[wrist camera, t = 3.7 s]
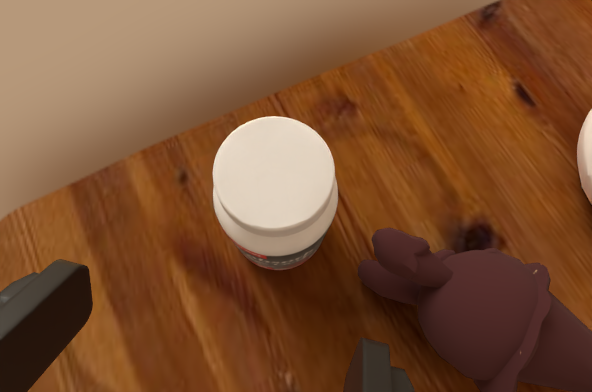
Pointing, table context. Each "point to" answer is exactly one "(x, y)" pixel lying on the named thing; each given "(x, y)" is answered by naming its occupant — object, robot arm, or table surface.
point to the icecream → (484, 313)
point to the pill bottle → (275, 191)
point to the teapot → (585, 156)
